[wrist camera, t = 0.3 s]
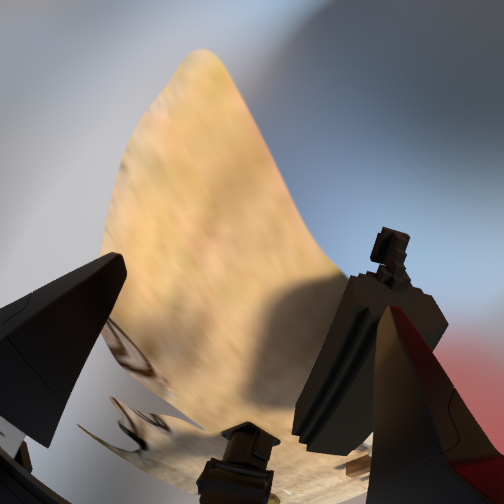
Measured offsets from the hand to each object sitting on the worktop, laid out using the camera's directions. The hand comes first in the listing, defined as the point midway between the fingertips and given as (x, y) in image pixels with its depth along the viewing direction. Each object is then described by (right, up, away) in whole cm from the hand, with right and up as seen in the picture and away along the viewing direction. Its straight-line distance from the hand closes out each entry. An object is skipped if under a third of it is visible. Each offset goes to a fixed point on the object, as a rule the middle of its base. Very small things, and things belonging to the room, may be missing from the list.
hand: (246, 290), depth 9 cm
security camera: (+10, -5, +17) cm, 20 cm away
